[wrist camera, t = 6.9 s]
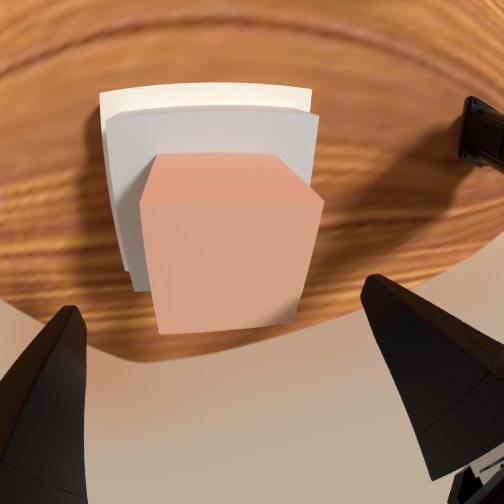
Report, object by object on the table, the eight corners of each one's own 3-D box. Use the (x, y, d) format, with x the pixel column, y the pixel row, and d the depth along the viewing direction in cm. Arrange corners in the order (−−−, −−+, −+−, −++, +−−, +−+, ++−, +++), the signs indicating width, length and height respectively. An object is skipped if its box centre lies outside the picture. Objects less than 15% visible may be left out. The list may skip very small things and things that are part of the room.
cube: (274, 154, 12) (324, 201, 8) (262, 250, 15) (293, 322, 11) (157, 153, 11) (139, 203, 7) (162, 254, 13) (159, 334, 9)
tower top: (295, 107, 14) (319, 115, 11) (279, 248, 19) (294, 277, 16) (120, 111, 12) (105, 120, 9) (139, 259, 17) (134, 291, 14)
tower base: (292, 86, 15) (311, 89, 13) (277, 235, 22) (290, 257, 19) (113, 90, 13) (99, 93, 11) (130, 245, 19) (125, 271, 17)
